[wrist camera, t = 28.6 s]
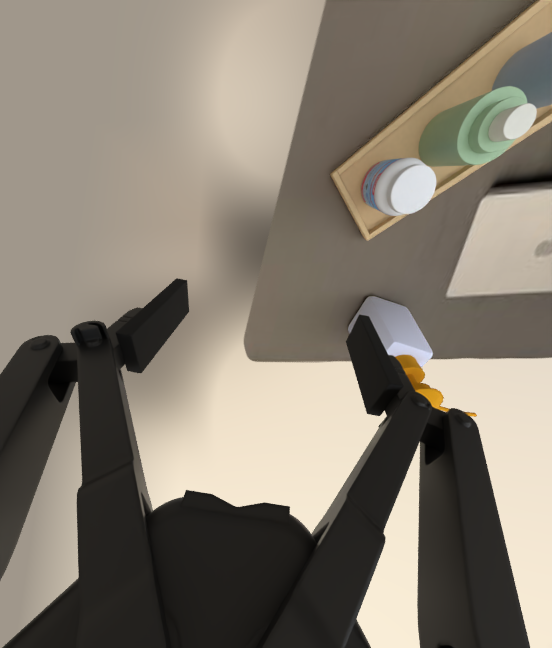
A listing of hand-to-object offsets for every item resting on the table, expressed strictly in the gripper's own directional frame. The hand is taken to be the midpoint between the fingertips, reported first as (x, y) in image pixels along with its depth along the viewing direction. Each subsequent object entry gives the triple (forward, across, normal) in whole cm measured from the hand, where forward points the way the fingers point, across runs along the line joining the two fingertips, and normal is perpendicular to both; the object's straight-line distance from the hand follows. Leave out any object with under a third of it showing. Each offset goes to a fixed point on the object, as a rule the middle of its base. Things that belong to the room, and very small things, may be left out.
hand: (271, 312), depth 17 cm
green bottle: (+26, +18, +16) cm, 36 cm away
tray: (+27, +18, +16) cm, 36 cm away
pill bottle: (+26, +13, +10) cm, 31 cm away
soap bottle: (+27, +24, -13) cm, 39 cm away
